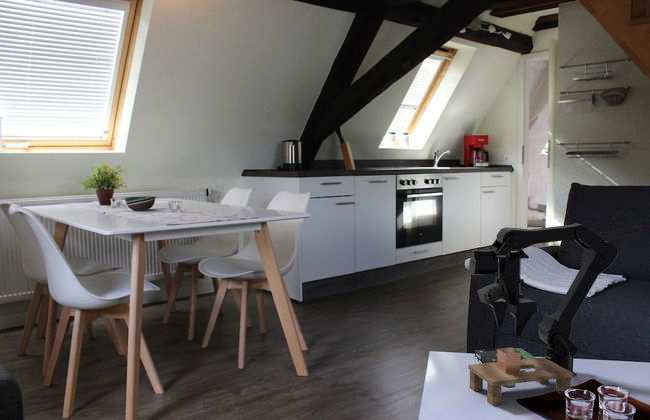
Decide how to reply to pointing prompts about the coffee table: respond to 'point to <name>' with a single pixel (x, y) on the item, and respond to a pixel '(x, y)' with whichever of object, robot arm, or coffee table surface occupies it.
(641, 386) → the coffee table surface
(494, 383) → the wooden slotted stool
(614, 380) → the coffee table surface
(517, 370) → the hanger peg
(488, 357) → the disk drive
